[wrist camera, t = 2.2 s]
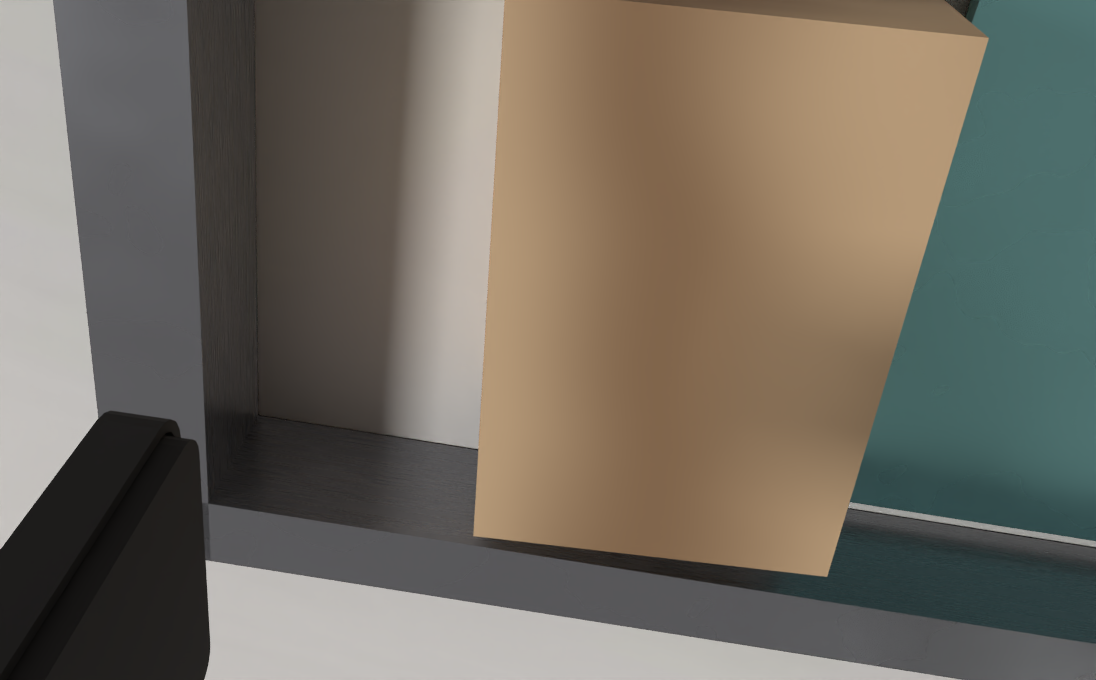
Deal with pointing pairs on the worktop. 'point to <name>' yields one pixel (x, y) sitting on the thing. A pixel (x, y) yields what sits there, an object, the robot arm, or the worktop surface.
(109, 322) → the bay
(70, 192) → the worktop surface
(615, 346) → the tan cardboard box
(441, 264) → the worktop surface
